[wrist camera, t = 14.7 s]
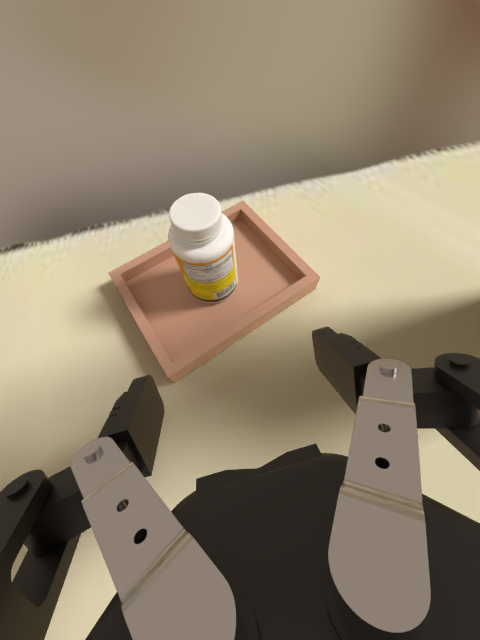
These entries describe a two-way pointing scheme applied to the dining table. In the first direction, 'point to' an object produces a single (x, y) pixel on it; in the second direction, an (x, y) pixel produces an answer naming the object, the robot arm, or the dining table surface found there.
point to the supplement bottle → (203, 247)
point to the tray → (212, 318)
